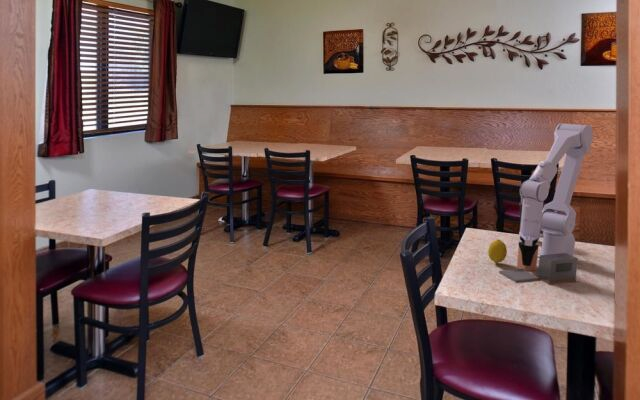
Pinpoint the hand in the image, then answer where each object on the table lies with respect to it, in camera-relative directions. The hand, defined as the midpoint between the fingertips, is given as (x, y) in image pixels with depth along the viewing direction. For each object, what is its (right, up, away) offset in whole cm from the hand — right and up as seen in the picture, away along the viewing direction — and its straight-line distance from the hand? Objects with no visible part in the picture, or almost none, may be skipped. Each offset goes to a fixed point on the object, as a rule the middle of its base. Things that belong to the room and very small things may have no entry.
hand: (526, 261), depth 159 cm
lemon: (-8, -1, +4) cm, 9 cm away
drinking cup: (+12, +4, +29) cm, 32 cm away
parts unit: (+5, -4, -9) cm, 11 cm away
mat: (-5, -3, -7) cm, 9 cm away
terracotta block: (0, -2, 0) cm, 2 cm away
